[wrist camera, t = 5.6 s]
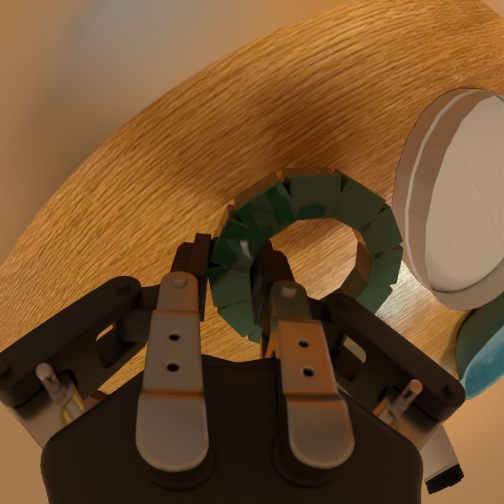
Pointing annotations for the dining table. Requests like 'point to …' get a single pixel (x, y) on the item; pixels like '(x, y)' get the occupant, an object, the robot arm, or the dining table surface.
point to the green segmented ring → (286, 213)
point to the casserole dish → (481, 348)
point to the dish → (455, 198)
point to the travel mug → (440, 462)
